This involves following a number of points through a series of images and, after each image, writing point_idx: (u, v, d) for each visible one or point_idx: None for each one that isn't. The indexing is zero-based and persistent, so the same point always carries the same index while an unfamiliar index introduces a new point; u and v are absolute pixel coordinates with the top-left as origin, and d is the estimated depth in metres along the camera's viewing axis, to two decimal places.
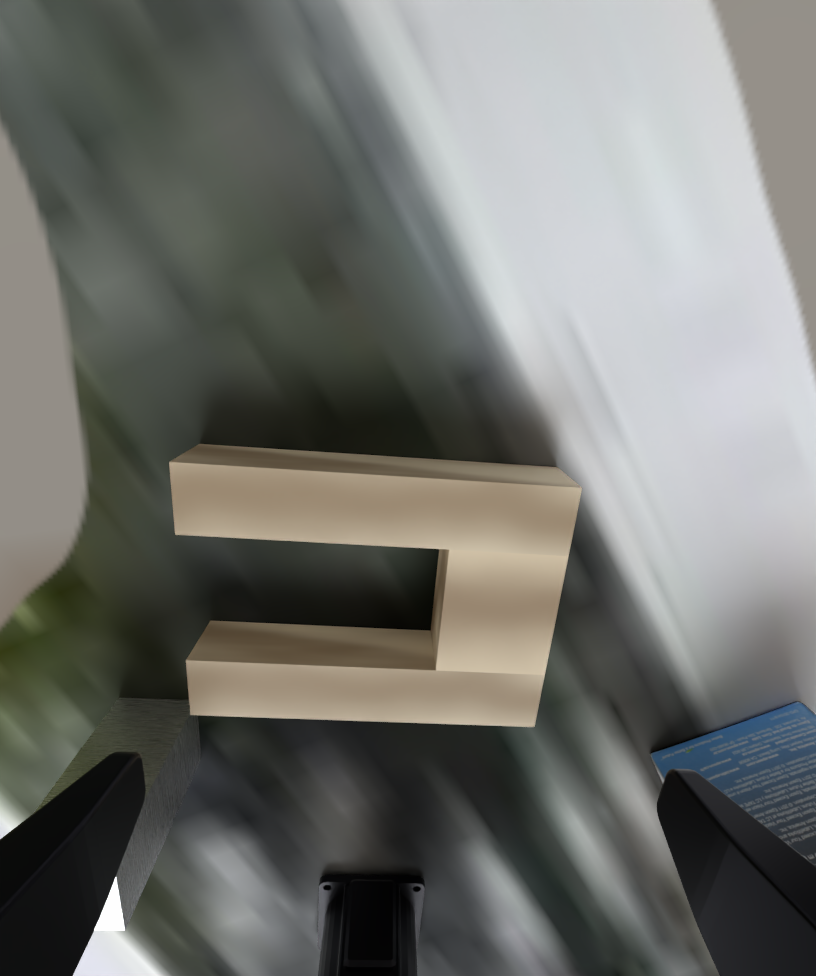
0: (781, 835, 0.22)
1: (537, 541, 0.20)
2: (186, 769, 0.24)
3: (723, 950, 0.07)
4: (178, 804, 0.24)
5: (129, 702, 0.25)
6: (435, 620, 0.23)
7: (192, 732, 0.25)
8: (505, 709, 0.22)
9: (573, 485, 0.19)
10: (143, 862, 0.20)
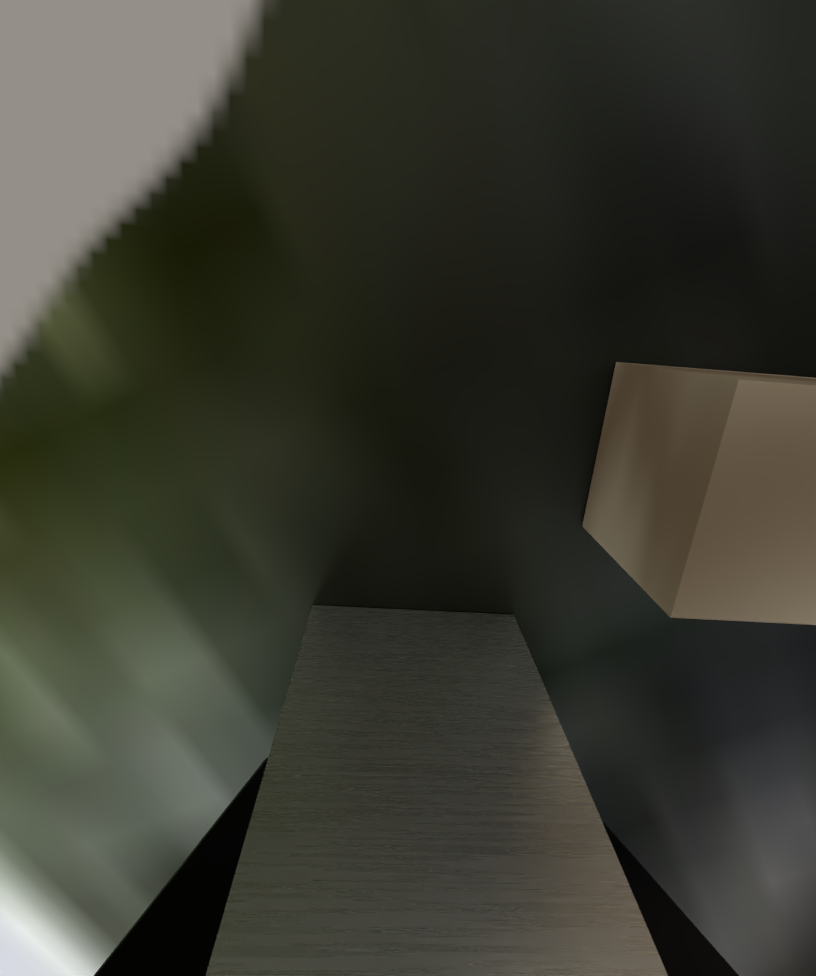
0: None
1: None
2: None
3: None
4: None
5: (347, 615, 0.09)
6: None
7: None
8: None
9: None
10: None
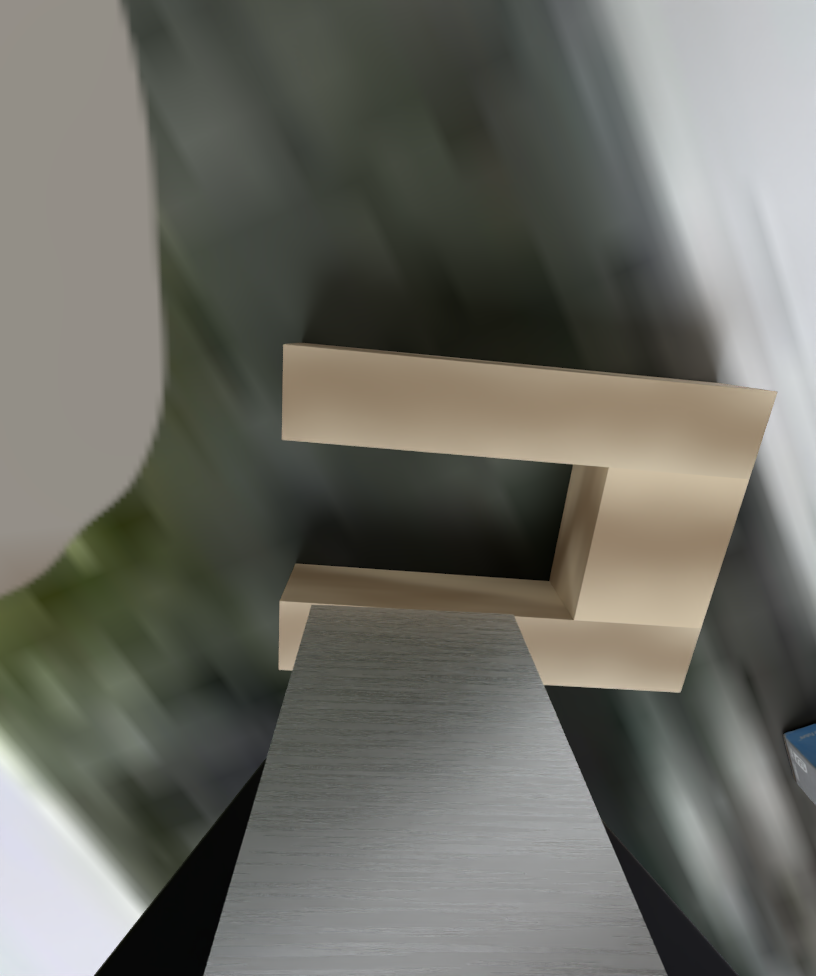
0: None
1: (715, 459, 0.16)
2: None
3: None
4: None
5: (346, 615, 0.09)
6: (566, 564, 0.19)
7: None
8: (649, 670, 0.19)
9: (763, 390, 0.16)
10: None
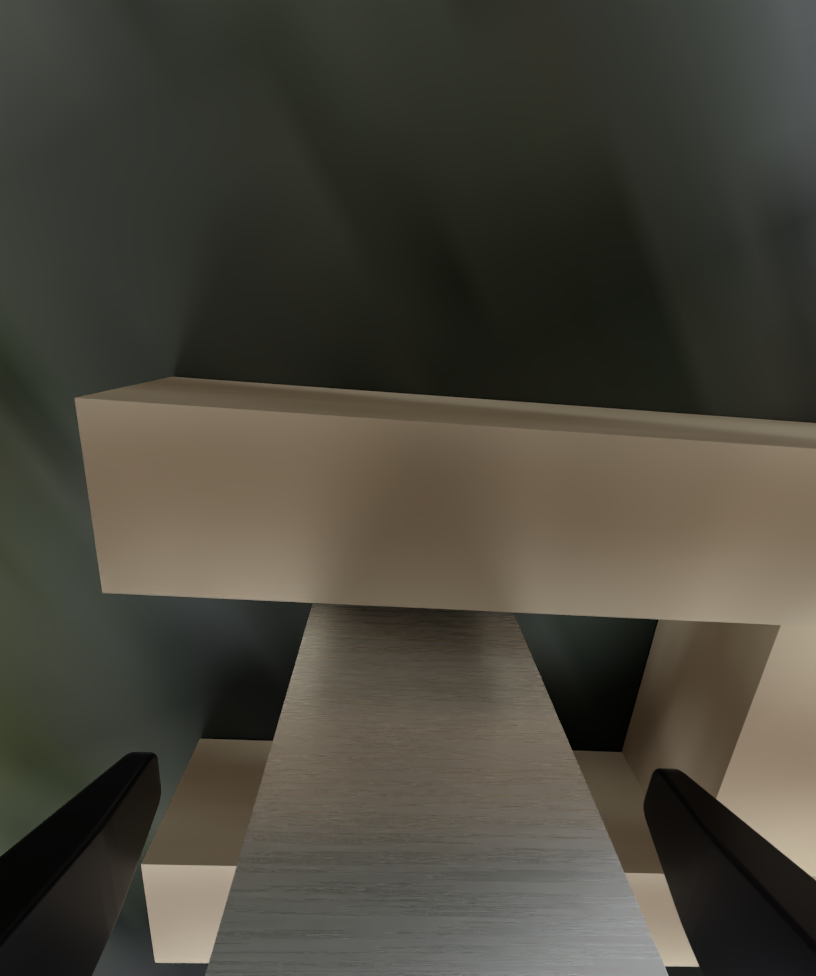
0: None
1: None
2: None
3: (706, 950, 0.07)
4: None
5: None
6: (662, 750, 0.11)
7: None
8: None
9: None
10: None
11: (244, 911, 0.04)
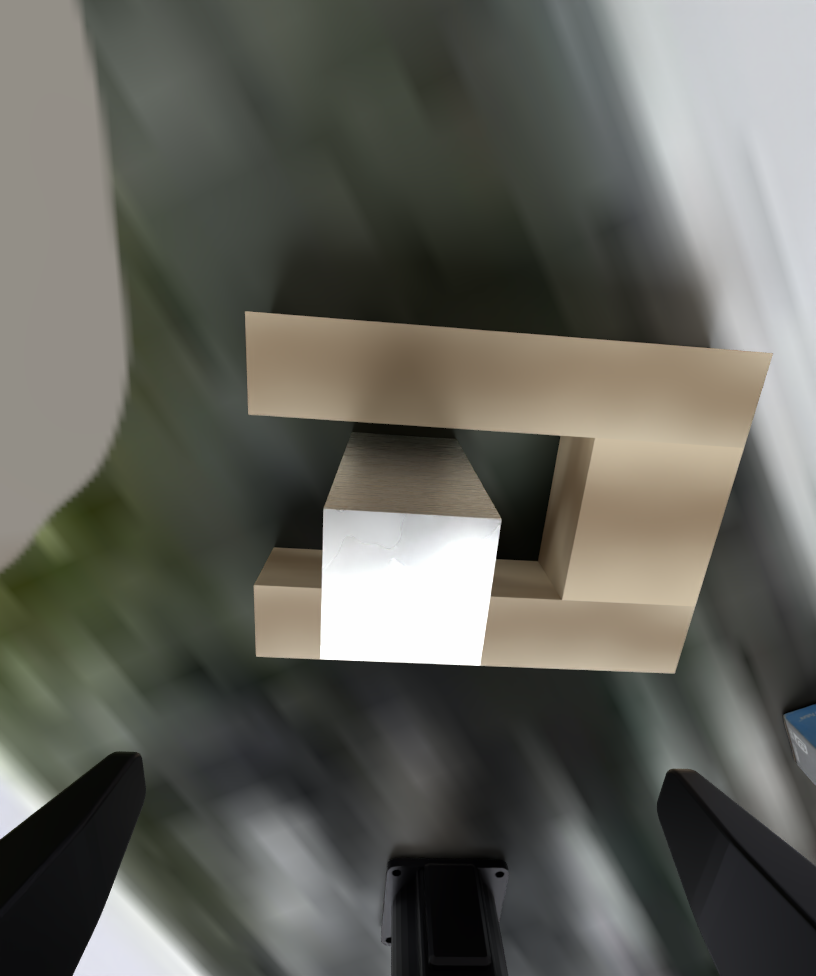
0: None
1: (707, 427, 0.15)
2: None
3: (723, 950, 0.07)
4: None
5: (370, 434, 0.18)
6: (554, 542, 0.18)
7: None
8: (642, 650, 0.18)
9: (758, 352, 0.15)
10: None
11: (338, 490, 0.12)
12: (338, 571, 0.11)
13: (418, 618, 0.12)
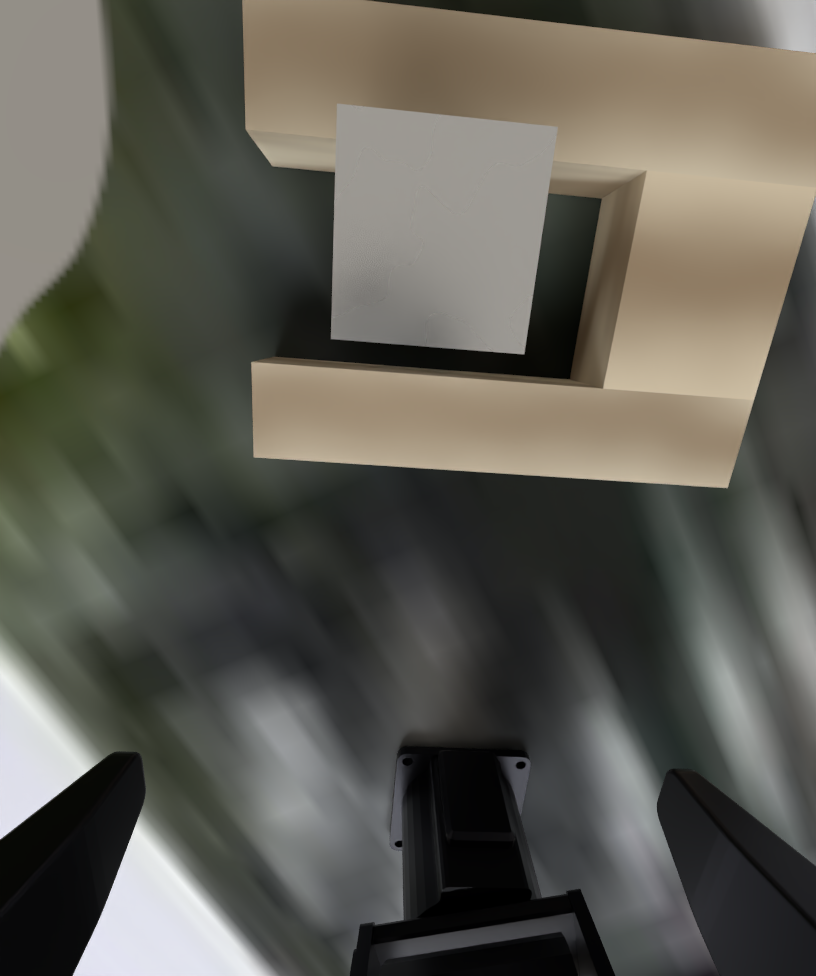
0: None
1: (776, 158, 0.13)
2: None
3: (723, 950, 0.07)
4: None
5: None
6: (591, 338, 0.16)
7: None
8: (691, 457, 0.16)
9: None
10: None
11: None
12: (354, 203, 0.09)
13: (451, 279, 0.09)
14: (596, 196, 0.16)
